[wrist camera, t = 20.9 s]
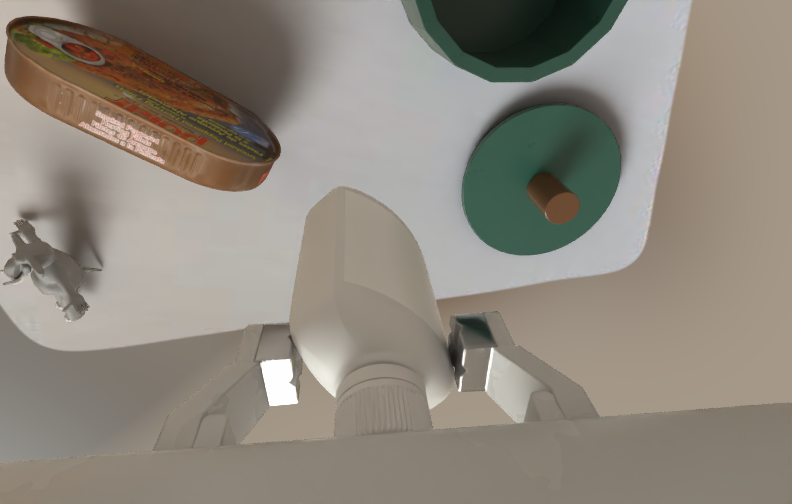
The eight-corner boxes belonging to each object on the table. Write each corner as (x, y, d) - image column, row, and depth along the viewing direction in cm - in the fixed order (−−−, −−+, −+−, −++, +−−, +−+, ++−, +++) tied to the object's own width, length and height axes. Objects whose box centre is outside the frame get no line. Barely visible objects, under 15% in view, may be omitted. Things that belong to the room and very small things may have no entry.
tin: (289, 132, 32) (272, 173, 25) (271, 167, 33) (250, 216, 26) (66, 7, 27) (-37, 13, 20) (55, 54, 28) (-46, 76, 21)
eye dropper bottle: (402, 166, 17) (479, 416, 7) (427, 276, 20) (507, 564, 10) (298, 192, 18) (230, 473, 7) (338, 297, 21) (329, 602, 10)
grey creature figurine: (3, 284, 36) (-44, 213, 30) (81, 253, 40) (55, 185, 34) (61, 372, 34) (24, 317, 27) (139, 331, 38) (123, 273, 31)
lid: (467, 101, 32) (486, 119, 28) (633, 100, 33) (677, 117, 29) (453, 251, 39) (467, 285, 34) (591, 246, 40) (622, 277, 35)
